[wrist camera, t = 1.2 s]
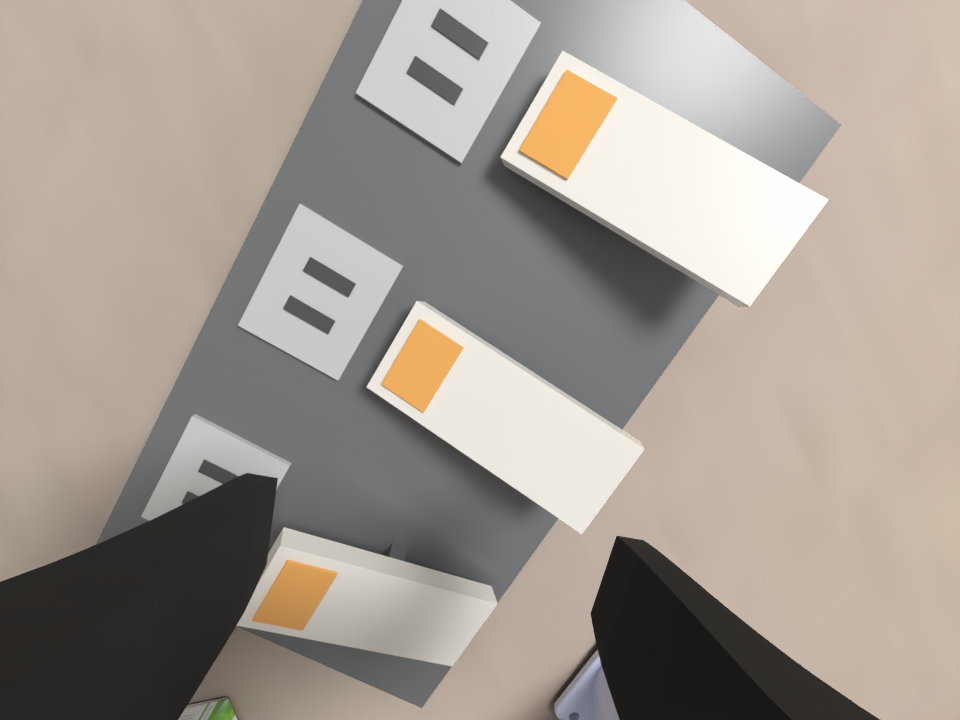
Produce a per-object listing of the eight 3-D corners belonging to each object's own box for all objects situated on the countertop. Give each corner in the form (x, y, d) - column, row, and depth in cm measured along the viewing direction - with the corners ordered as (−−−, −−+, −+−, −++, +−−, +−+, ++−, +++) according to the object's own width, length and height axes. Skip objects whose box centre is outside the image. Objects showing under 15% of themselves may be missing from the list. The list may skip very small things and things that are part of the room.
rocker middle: (640, 441, 14) (645, 450, 13) (581, 522, 15) (581, 535, 14) (424, 301, 15) (415, 300, 14) (376, 383, 16) (365, 387, 15)
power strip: (777, 145, 17) (865, 117, 14) (427, 647, 22) (419, 730, 18) (454, -101, 15) (452, -217, 11) (143, 514, 20) (68, 577, 16)
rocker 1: (491, 586, 18) (498, 605, 17) (448, 646, 18) (452, 668, 17) (283, 526, 14) (279, 547, 14) (239, 603, 15) (233, 627, 14)
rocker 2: (812, 206, 13) (830, 198, 12) (738, 307, 13) (751, 306, 12) (563, 65, 13) (562, 48, 13) (504, 166, 14) (499, 156, 13)
